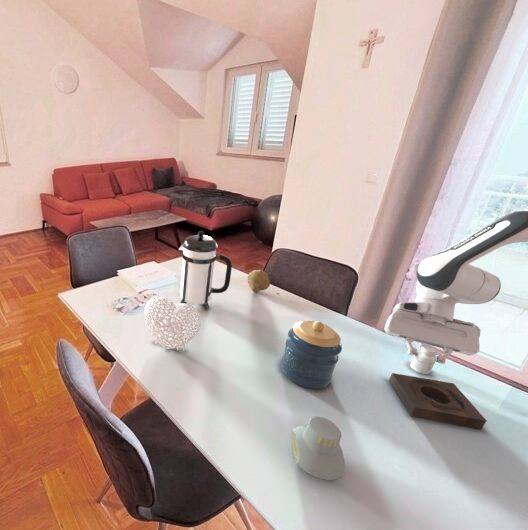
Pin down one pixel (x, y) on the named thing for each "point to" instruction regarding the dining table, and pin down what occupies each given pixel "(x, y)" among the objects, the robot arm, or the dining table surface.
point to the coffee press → (200, 269)
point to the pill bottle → (424, 359)
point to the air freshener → (318, 448)
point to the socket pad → (448, 411)
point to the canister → (311, 354)
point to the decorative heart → (171, 322)
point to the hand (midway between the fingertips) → (425, 358)
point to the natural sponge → (258, 280)
